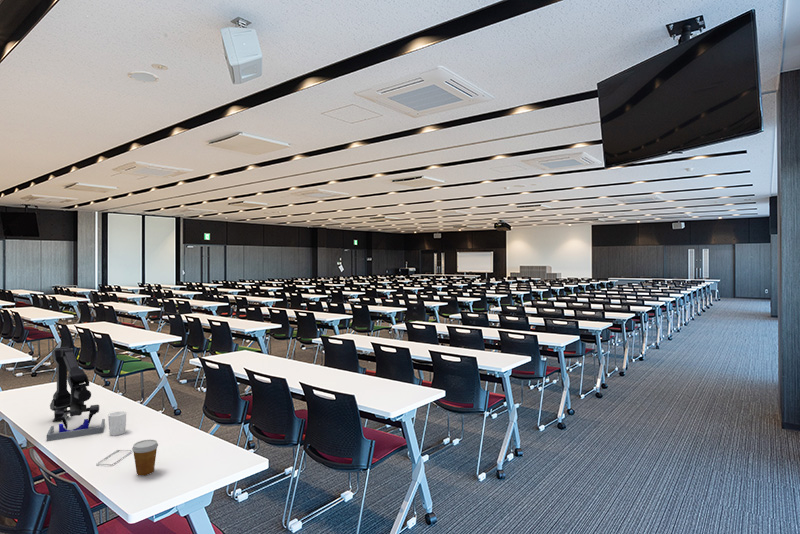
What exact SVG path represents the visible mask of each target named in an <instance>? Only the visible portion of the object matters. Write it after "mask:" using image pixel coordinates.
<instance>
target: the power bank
mask: <svg viewBox="0 0 800 534" xmlns="http://www.w3.org/2000/svg"><path fill="white" fill-rule="evenodd" d="M119 451H120V452H123V451H124V452H127V453H125V455H123V456H122V457H120V458H119V459H117V460H115V461H114V462H112V463H101V462H103V461H105V459H106V460H108V459H109V458H110V457H112V456H113V454H114V453H115V454H117V453H120V452H119ZM132 451H133V450H132V449H116V450H115V451H113V452H111V453H110V454H109V455H107V456H105V457H104V458H102V459H101V460H100V461H97V462H96V465H95V466H96V467H100V466H99V465H113V464H115V463H116V462H118V461H119V462H120V460H121V459H122V458H124V457H125V456H126V457H128V456H129V455H131V454H132V453H133V452H132ZM116 452H117V453H116ZM131 452H132V453H131ZM130 453H131V454H130ZM115 454H114V455H115ZM111 455H112V456H111ZM127 455H128V456H127ZM108 457H109V458H108ZM126 457H125V458H126ZM125 458H124V459H125ZM122 460H123V459H122ZM122 460H121V461H122ZM119 462H118V463H119ZM116 464H117V463H116ZM116 464H115V465H116ZM113 466H114V465H113Z"/></svg>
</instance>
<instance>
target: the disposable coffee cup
mask: <svg viewBox="0 0 800 534" xmlns="http://www.w3.org/2000/svg"><path fill="white" fill-rule="evenodd" d="M158 446H159V443H158V441H157V440H156V439H143V440H140V441H137V442H135V443H134V444H133V445H132V448H131V450H133V452H132V453H133V457H134V458H133V459H134V464H135V470H136V471H135V472H136V475H137V474H138V475H137V476H139V475H144V476H148V475H147V474H149V475H150V473H151V474H153V473H154V472H155V465H156V459H157V457H156V456H157V450H158ZM152 472H153V473H152Z"/></svg>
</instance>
